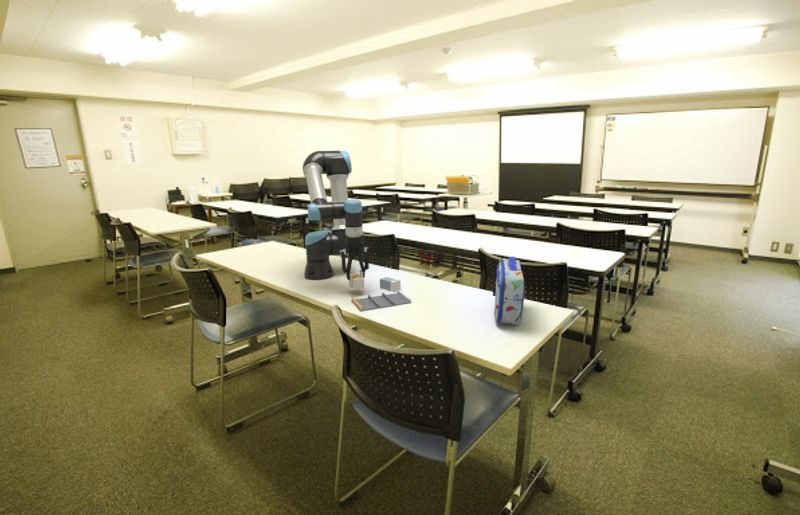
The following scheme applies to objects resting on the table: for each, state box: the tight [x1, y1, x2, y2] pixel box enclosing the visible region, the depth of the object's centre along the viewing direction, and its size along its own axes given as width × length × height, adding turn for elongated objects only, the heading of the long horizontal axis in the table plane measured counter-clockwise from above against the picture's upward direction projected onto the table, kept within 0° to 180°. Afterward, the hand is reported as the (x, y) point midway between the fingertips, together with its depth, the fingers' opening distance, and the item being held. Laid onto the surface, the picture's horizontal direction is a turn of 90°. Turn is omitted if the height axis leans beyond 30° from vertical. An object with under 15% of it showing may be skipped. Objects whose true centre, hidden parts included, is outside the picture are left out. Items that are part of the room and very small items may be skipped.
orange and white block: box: [351, 273, 365, 291], centre depth 176 cm, size 9×5×5 cm, turn 23°
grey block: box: [379, 276, 402, 293], centre depth 181 cm, size 9×5×5 cm, turn 48°
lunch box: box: [492, 256, 525, 326], centre depth 146 cm, size 28×10×22 cm, turn 168°
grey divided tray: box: [350, 290, 412, 312], centre depth 165 cm, size 13×22×2 cm, turn 113°
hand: (356, 285), depth 177 cm, fingers closed on orange and white block, 4 cm apart
